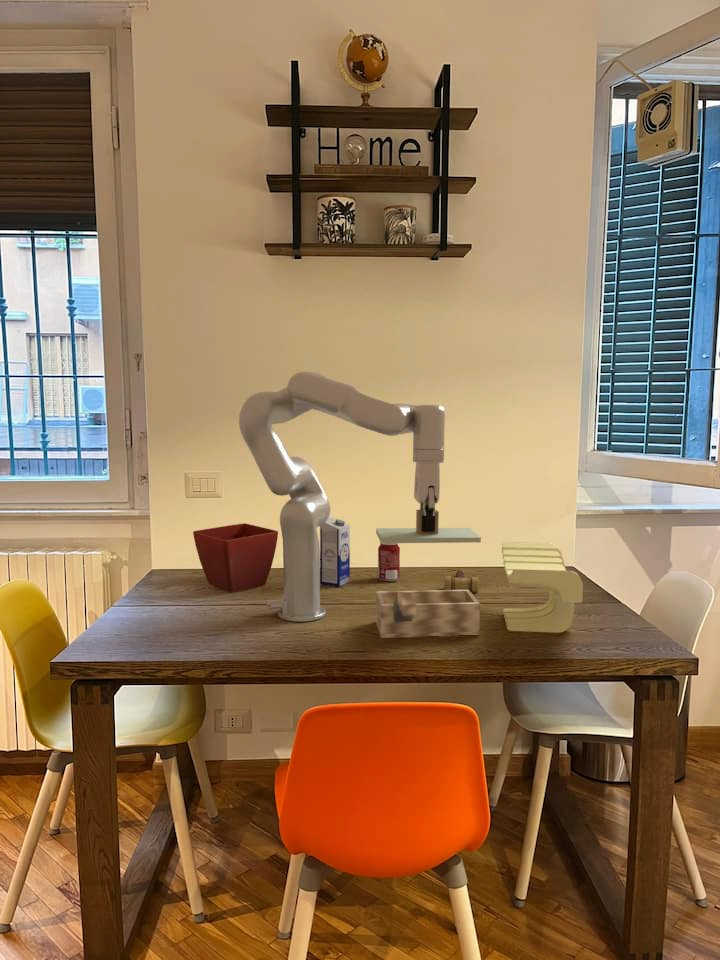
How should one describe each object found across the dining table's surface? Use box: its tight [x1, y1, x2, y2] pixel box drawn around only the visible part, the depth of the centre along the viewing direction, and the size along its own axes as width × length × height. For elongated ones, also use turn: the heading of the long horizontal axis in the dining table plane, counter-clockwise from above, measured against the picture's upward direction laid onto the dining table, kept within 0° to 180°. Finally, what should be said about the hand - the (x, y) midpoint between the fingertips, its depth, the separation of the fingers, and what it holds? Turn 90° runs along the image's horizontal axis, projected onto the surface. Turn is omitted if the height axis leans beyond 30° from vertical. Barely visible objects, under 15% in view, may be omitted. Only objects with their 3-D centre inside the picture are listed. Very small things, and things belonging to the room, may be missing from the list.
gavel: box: [443, 570, 480, 593], centre depth 218 cm, size 21×5×10 cm
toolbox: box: [375, 589, 481, 639], centre depth 175 cm, size 24×15×9 cm, turn 94°
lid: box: [375, 509, 482, 544], centre depth 174 cm, size 24×12×7 cm, turn 94°
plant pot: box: [192, 522, 279, 593], centre depth 214 cm, size 19×19×17 cm
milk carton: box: [319, 516, 351, 588], centre depth 217 cm, size 7×7×20 cm
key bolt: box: [398, 593, 416, 616], centre depth 161 cm, size 3×9×2 cm, turn 4°
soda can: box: [377, 541, 401, 582], centre depth 221 cm, size 7×7×12 cm
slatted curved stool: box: [501, 541, 584, 634], centre depth 180 cm, size 30×16×18 cm, turn 174°
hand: (427, 529), depth 174 cm, fingers closed on lid, 3 cm apart
